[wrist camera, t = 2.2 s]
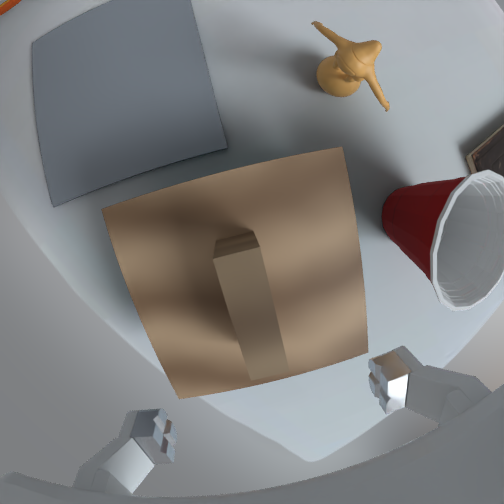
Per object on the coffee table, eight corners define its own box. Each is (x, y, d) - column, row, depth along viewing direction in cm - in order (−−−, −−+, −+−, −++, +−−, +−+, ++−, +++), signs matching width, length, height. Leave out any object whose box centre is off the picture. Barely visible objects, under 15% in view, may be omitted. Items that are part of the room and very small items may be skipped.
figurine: (372, 105, 24) (451, 78, 12) (329, 139, 25) (399, 121, 13) (317, 41, 22) (368, -23, 10) (270, 70, 23) (300, 5, 11)
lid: (107, 207, 18) (72, 219, 13) (336, 147, 18) (370, 141, 13) (180, 391, 22) (173, 433, 18) (363, 346, 23) (388, 381, 18)
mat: (35, 44, 19) (32, 43, 18) (184, -21, 19) (184, -24, 18) (56, 206, 24) (53, 207, 24) (227, 148, 24) (227, 147, 24)
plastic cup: (379, 285, 29) (445, 341, 18) (342, 192, 26) (416, 209, 15) (449, 238, 28) (524, 269, 17) (423, 149, 25) (508, 149, 14)
